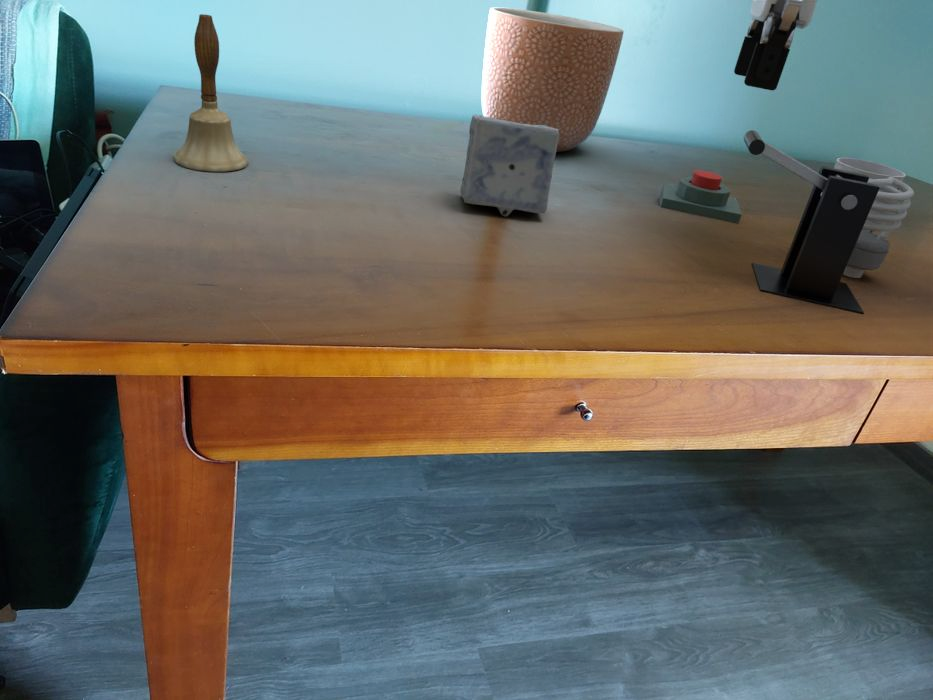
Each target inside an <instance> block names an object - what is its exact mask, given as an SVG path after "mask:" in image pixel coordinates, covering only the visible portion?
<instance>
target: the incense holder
mask: <svg viewBox="0 0 933 700" xmlns="http://www.w3.org/2000/svg"><path fill="white" fill-rule="evenodd" d="M468 132H469V139H468V145H467V149H466V159H465V165H464V171H463V177H462V179H461V185H460V189H459V193H460V195H461V196H462V199H463V201H464V203H465V204H471V205H476V206H478V205H479V206H487V207H493V208H497V210H498V211H499V213H500V215H501V216H502V217H508V216H510V214H511V213H512V212H513V211H514V210H517V211H522V212H527V213H528V212H529V213H534V214H545V213H546V212H547V209H548V204H549V196H550V190H551V183H552V178H553V172H554V171H553V170H554V165H555V160H556V154H557V152H556V151H557V144H558V140H559V131H558V129H555V128H552V127H548V126H546V125H530V124H522V123H516V122H511V121H506V120H498V119H493V118H488V117H485V116H483V115H480V114H473V115H472V117H471V120H470V124H469V130H468Z"/></svg>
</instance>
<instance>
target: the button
mask: <svg viewBox="0 0 933 700" xmlns="http://www.w3.org/2000/svg"><path fill="white" fill-rule="evenodd" d="M691 178H692V181H691V184H692V185H694V186H697V187H700V188H704V189H709V190H718V189H719V186H720V184H722V183H721V182H722V180H723V177H722V175H721V176H720V175H719V174H717V173H714V172H710V171H704V170H694V171H693V175H692V177H691Z"/></svg>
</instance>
